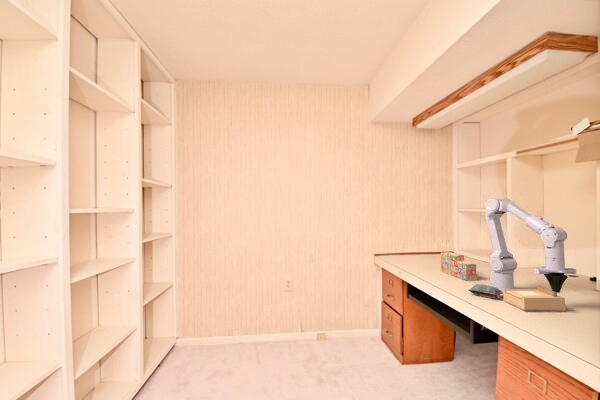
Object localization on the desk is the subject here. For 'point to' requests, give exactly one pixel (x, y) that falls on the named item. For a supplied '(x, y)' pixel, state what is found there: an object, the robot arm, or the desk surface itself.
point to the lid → (533, 293)
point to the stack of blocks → (458, 266)
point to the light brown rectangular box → (535, 302)
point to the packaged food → (485, 291)
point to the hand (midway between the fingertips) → (556, 291)
